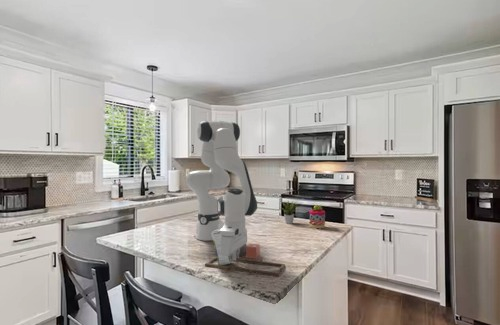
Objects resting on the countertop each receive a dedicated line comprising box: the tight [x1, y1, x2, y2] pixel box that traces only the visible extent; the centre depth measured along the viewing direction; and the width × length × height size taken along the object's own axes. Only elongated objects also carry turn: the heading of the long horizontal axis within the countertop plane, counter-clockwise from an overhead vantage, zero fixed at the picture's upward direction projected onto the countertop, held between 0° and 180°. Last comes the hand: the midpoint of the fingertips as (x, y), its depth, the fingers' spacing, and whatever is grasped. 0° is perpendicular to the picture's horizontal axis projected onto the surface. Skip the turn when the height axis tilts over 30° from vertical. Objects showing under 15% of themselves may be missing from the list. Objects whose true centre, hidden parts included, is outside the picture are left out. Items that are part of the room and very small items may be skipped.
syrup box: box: [211, 228, 234, 266], centre depth 122 cm, size 6×6×14 cm
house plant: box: [280, 200, 300, 225], centre depth 200 cm, size 14×14×16 cm
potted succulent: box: [308, 205, 326, 229], centre depth 189 cm, size 10×11×15 cm
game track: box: [204, 255, 286, 278], centre depth 119 cm, size 15×32×1 cm, turn 70°
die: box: [245, 243, 261, 259], centre depth 132 cm, size 5×5×6 cm
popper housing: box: [239, 243, 247, 257], centre depth 136 cm, size 9×9×4 cm
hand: (235, 259), depth 120 cm, fingers closed
